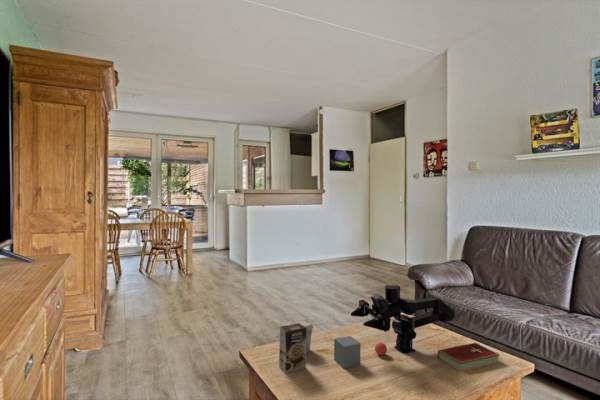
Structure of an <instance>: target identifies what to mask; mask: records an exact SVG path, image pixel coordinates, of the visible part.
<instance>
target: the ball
mask: <svg viewBox="0 0 600 400" xmlns="http://www.w3.org/2000/svg"><path fill="white" fill-rule="evenodd" d="M374 351H375V353H376V354H377V355H378V356H384V355H386V353H387V351H388V350H387V346H386V344H385V343H384V342H378V343H376V344H375V346H374Z"/></svg>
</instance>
